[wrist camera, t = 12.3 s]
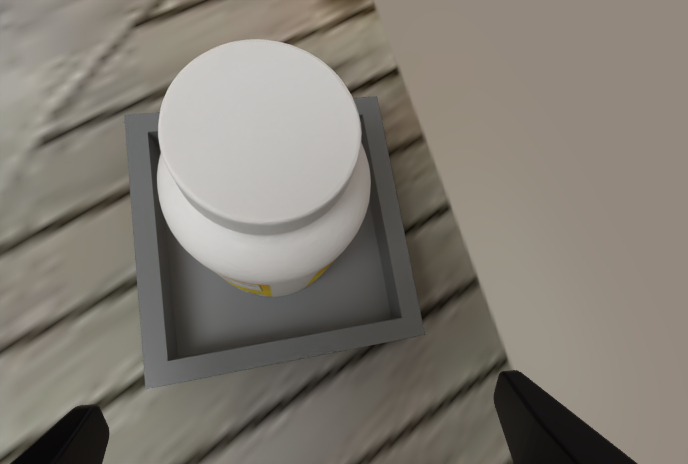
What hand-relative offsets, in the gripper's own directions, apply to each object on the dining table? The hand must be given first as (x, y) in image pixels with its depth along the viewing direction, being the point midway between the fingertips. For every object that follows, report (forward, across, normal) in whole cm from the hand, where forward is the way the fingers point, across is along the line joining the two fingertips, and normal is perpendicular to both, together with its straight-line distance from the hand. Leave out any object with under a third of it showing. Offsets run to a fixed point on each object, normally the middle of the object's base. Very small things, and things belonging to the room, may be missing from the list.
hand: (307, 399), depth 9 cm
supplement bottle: (+13, +2, +3) cm, 14 cm away
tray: (+14, +2, +3) cm, 14 cm away
